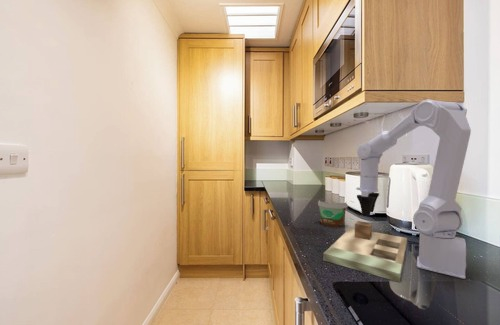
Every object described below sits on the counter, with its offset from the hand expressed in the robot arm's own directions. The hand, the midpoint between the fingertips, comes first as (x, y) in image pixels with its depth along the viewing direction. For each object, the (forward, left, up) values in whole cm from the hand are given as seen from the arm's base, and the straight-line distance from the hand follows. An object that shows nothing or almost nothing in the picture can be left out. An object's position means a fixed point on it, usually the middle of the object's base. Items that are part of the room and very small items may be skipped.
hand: (367, 213), depth 84 cm
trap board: (-3, +15, -8) cm, 17 cm away
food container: (+15, -5, -9) cm, 18 cm away
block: (0, +8, -6) cm, 10 cm away
